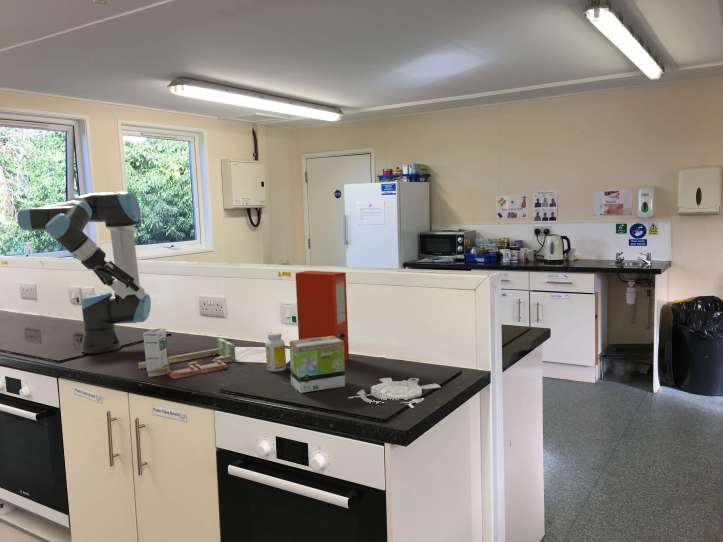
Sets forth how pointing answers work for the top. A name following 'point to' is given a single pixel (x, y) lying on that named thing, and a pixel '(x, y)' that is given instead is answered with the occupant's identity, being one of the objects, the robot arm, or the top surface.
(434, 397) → the top surface
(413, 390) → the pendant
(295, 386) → the tea box
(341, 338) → the file binder
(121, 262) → the robot arm
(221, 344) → the channel
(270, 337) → the supplement bottle
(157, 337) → the syrup box
